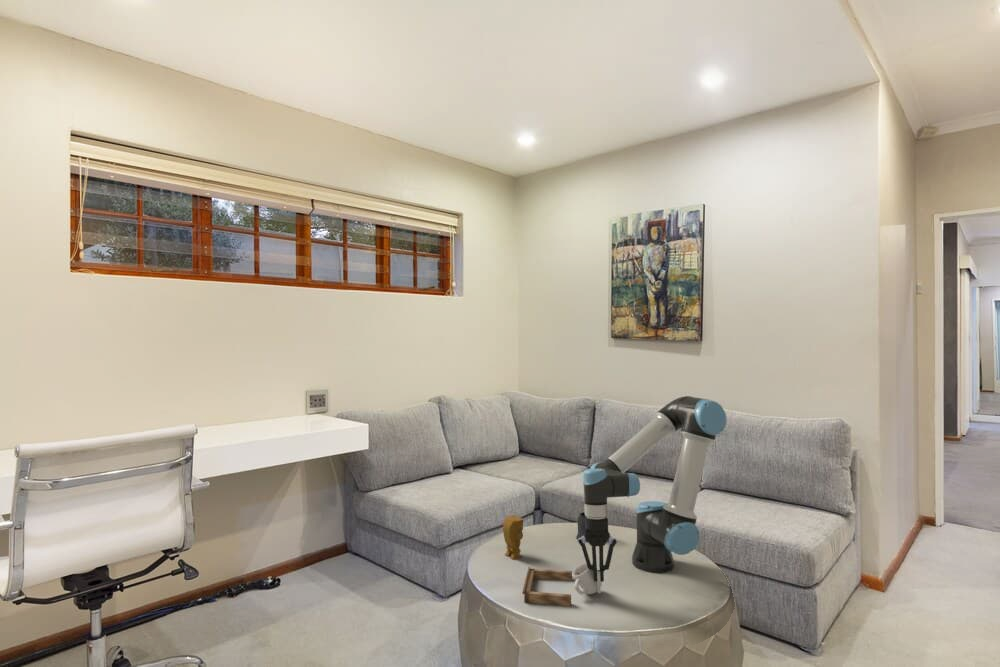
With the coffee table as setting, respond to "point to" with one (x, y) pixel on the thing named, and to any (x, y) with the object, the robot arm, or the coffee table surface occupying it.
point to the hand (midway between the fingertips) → (599, 591)
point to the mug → (581, 525)
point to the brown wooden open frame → (546, 597)
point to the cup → (585, 579)
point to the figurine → (513, 535)
